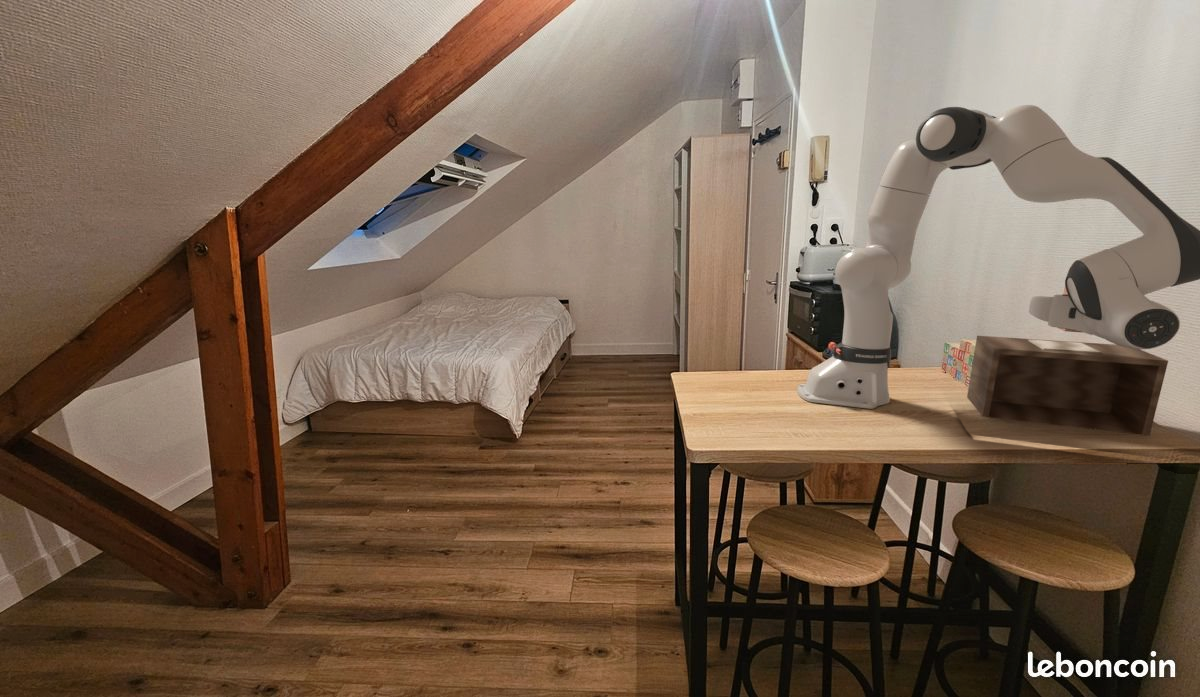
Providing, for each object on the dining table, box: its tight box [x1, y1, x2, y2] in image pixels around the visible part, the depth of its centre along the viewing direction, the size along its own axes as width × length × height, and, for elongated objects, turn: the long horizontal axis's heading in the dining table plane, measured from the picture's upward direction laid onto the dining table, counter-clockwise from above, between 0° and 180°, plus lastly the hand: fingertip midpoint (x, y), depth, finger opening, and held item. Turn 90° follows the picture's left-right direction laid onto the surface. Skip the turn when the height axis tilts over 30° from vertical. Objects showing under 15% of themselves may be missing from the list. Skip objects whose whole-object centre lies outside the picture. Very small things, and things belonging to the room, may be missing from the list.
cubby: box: [966, 335, 1169, 436], centre depth 121 cm, size 29×15×18 cm, turn 67°
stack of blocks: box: [941, 338, 976, 387], centre depth 152 cm, size 21×6×12 cm, turn 170°
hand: (1078, 304), depth 114 cm, fingers closed on terracotta block, 5 cm apart
